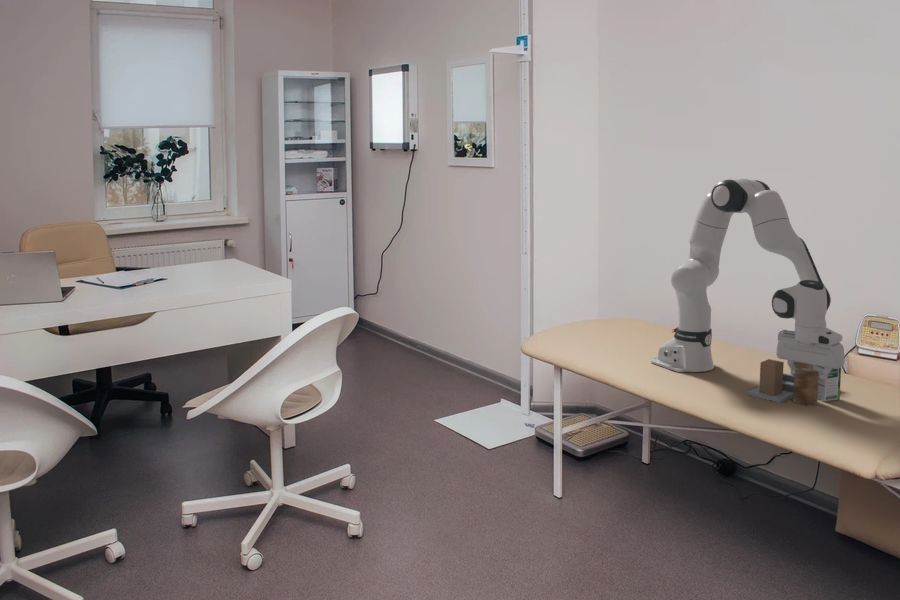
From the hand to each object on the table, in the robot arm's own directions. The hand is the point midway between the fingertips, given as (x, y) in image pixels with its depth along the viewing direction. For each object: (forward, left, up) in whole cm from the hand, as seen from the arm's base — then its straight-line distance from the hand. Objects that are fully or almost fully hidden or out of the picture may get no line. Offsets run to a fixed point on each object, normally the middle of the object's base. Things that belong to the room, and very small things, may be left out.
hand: (808, 377), depth 256 cm
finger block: (-1, 0, -8) cm, 8 cm away
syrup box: (+2, +7, -8) cm, 11 cm away
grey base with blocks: (-11, +8, -8) cm, 16 cm away
